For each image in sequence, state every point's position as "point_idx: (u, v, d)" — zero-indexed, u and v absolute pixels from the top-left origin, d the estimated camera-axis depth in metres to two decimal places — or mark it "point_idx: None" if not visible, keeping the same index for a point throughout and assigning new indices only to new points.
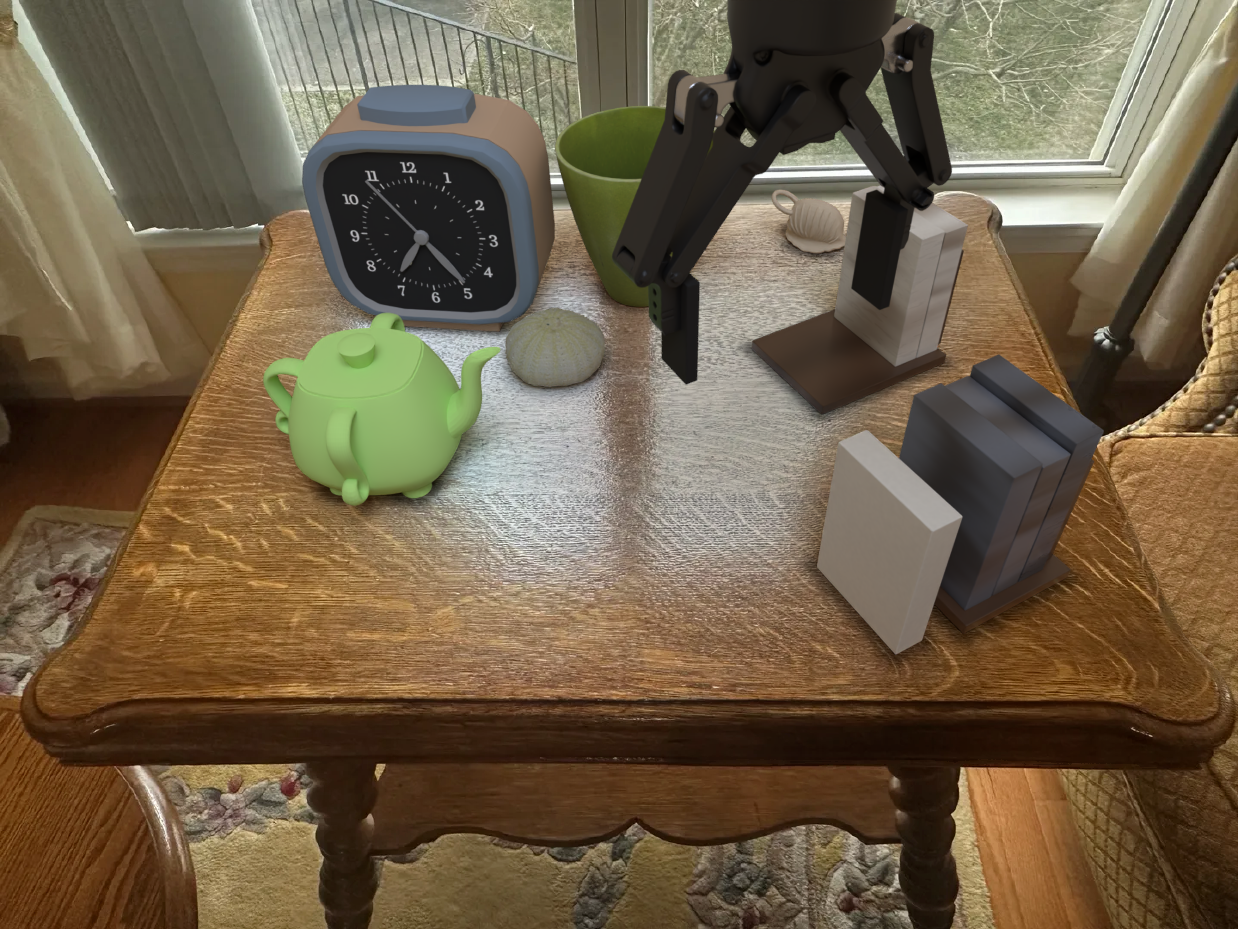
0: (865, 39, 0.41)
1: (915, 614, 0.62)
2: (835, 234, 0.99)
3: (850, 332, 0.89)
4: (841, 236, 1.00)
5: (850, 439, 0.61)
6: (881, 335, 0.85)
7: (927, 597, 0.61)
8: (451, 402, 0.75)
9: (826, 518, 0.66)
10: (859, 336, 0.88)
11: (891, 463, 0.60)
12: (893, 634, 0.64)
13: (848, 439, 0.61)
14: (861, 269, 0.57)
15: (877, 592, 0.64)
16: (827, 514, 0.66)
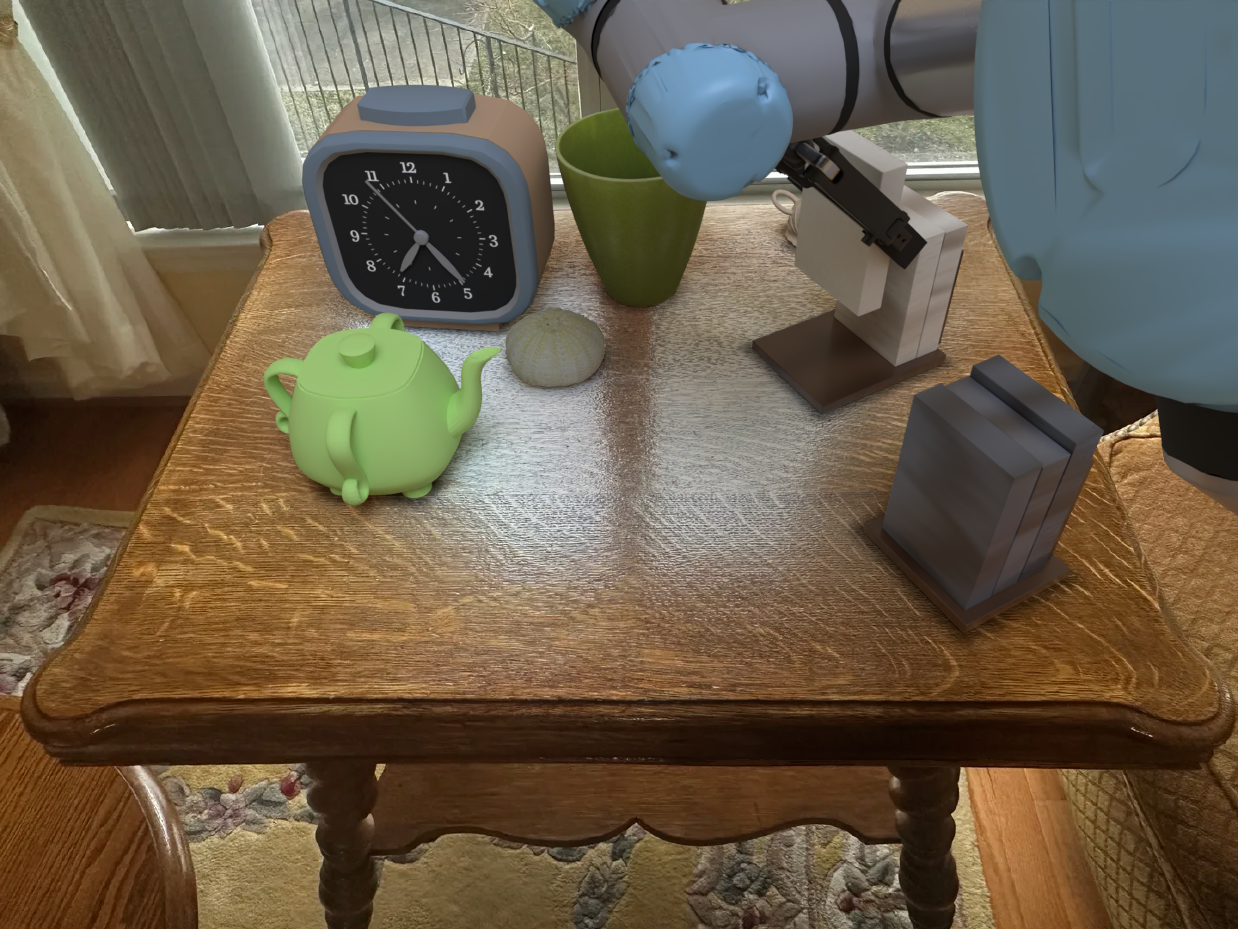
0: None
1: (873, 270, 0.75)
2: None
3: (850, 332, 0.89)
4: None
5: None
6: (881, 335, 0.85)
7: (882, 253, 0.75)
8: (451, 402, 0.75)
9: (801, 209, 0.80)
10: (859, 336, 0.88)
11: (852, 136, 0.73)
12: (856, 296, 0.77)
13: None
14: None
15: (843, 260, 0.77)
16: (802, 205, 0.79)
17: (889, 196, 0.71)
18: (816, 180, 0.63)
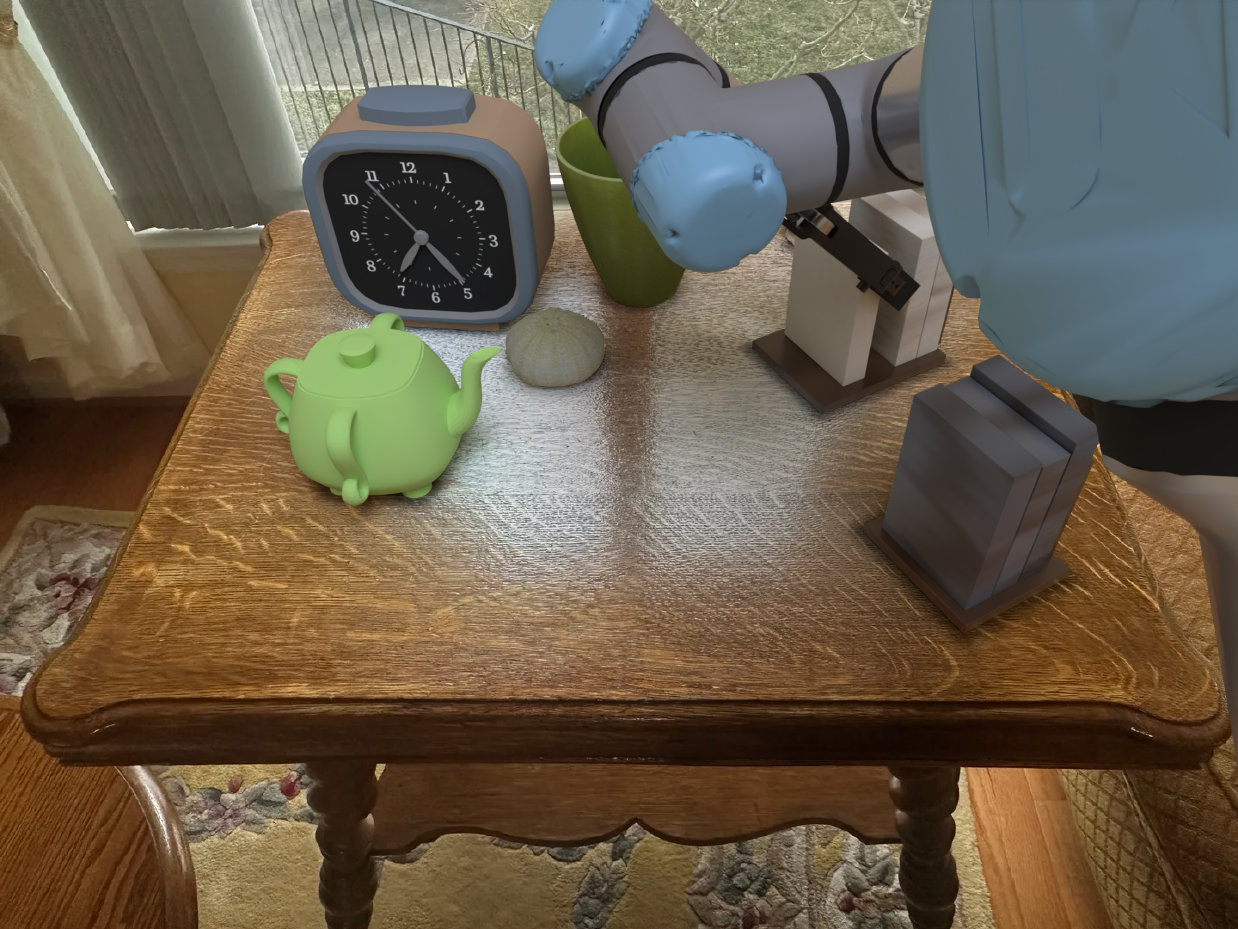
0: None
1: (857, 346, 0.81)
2: None
3: None
4: None
5: None
6: (881, 335, 0.85)
7: (866, 330, 0.80)
8: (451, 402, 0.75)
9: (790, 284, 0.85)
10: None
11: None
12: (841, 368, 0.83)
13: None
14: None
15: (829, 335, 0.83)
16: (791, 280, 0.85)
17: None
18: (811, 236, 0.66)
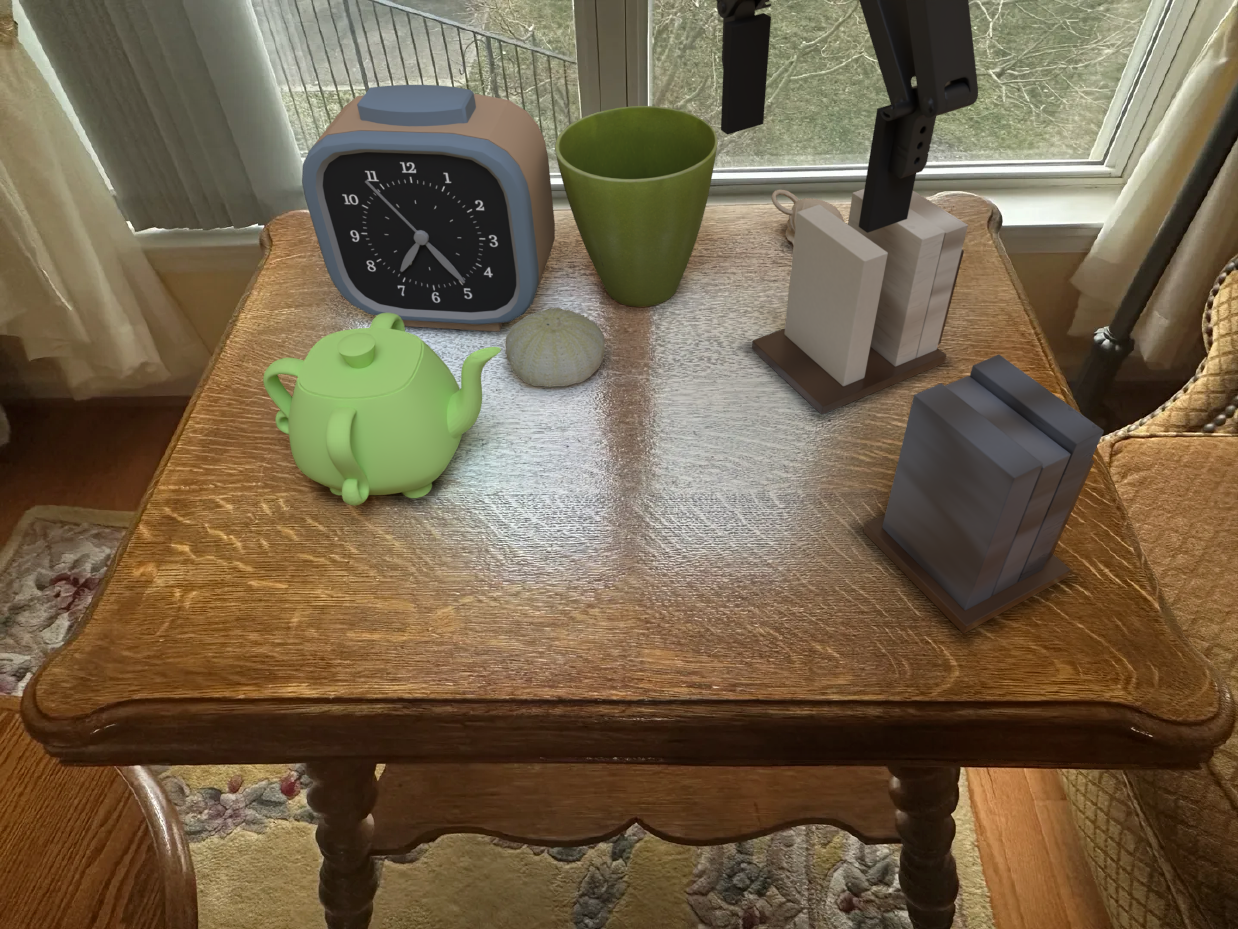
0: None
1: (856, 346, 0.81)
2: None
3: None
4: None
5: (806, 210, 0.80)
6: (881, 335, 0.85)
7: (865, 330, 0.80)
8: (451, 402, 0.75)
9: (790, 285, 0.85)
10: None
11: (836, 223, 0.78)
12: (841, 368, 0.83)
13: (804, 210, 0.80)
14: (737, 105, 0.58)
15: (828, 335, 0.83)
16: (790, 281, 0.85)
17: (871, 281, 0.76)
18: None
